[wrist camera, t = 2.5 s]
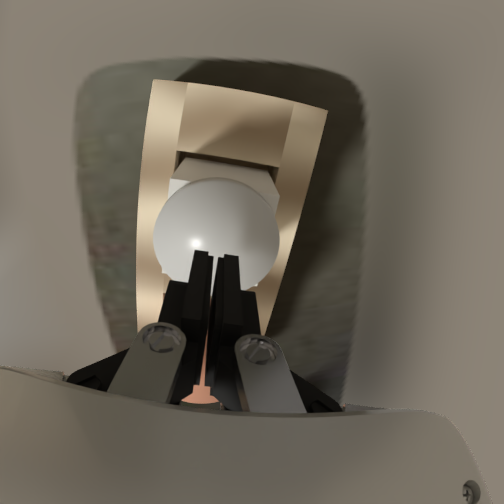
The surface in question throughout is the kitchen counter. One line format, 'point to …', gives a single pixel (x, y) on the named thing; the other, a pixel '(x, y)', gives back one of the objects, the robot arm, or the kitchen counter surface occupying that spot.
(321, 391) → the robot arm
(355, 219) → the kitchen counter surface
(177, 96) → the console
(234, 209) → the grey button
